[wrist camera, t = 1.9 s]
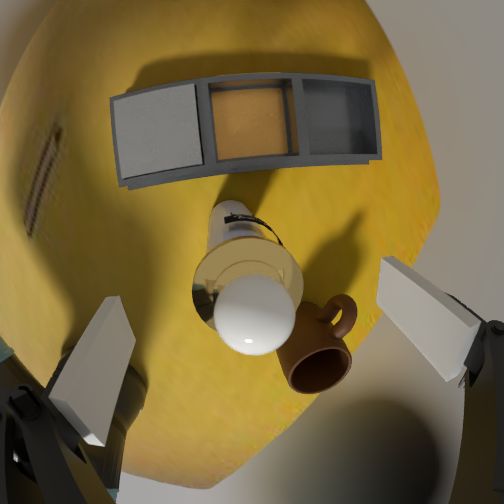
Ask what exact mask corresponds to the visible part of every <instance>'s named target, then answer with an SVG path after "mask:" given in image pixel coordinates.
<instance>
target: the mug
mask: <svg viewBox="0 0 504 504" xmlns="http://www.w3.org/2000/svg"><path fill="white" fill-rule="evenodd" d="M341 309H342V316H341V318H340V320H339V321H338V322H337V323H336V324H335V325H334V326H333V324H332V323H331V321H332V320H333V319H334V318H335V317H336V315H337V314H338V312H339V311H340V310H341ZM356 318H357V306H356V303H355V301H354V300H353V298H351V297H350V296H348V295H345V294H339V295H336V296H334V297H332V298H331V299H330V300H329V301H328V302H327V304H326V305H325V307H324V308H323V309H321V308H320V307H318V306H317V305H315V304H312V303H308V302H300V304H299V306H298V308H297V310H296V316H295V324H294V328H293V330H292V333H291V334H290V336H289V338H288V339H287V340H286V342H285V343H284V344H282V345H281V346H280V347H279V348H278V349H276V352H277V355H278V358H279V361H280V364H281V367H282V370H283V373H284V375H285V377H286V379H287V382H288V384H289V386H290V387H291V388H292V389H293V390H294V391H296V392H298V393H302V394H315V393H320V392H323V391H325V390H328V389H330V388H332V387H333V386H335V385H336V384H338V383H339V382H340V381H341V380H342V379H343V378H344V377H345V376H346V375H347V373H348V372H349V370H350V368H351V364H352V357H351V354H350V352H349V350H348V348H347V346H346V344H345V342H344V341H343V339H342V338H343V337H344V336H345V335H346V334H347V333H349V332H350V331H351V329H352V328H353V326H354V324H355V321H356Z"/></svg>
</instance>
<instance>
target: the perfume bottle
mask: <svg viewBox="0 0 504 504" xmlns="http://www.w3.org/2000/svg"><path fill="white" fill-rule="evenodd" d="M256 219H257V221H256ZM259 221H261V222H259ZM264 223H265V222H263V221H262V220H260V219H259V218H256V217H254V215H252V213H251V212H250V210H249V209H248V208H247V207H246V206H245V205H244V204H243V203H241V202H239V201H235V200H227V201H223V202H221V203H219V204H218V205H216V206H215V207H214V208H213V210H212V212H211V214H210V216H209V224H208V237H207V250H206V255H205V256H204V257H203V258H202V260H201V261H200V263H199V265H198V267H197V269H196V272H195V275H194V278H193V286H192V297H193V303H194V306H195V308H196V311H197V313H198V314H199V316H200V317H201V319H202V320H203V321H204V322H205V323H206V324H207V325H208V326H209V327H211V328H212V329H214V330H215V331H217V332H218V334H219V336H220V337H221V339H222V340H223V341H224V342H225V343H226V344H227V345H228V346H229V347H230V348H232V349H233V350H235V351H237V352H239V353H242V354H247V355H264V354H267V353H270V352H272V351H274V350H276V349H278V348H279V347H280V346H281V345H282V344H284V343H285V342H286V340H287V339H288V338H289V336H290V334H291V333H292V330H293V328H294V324H295V316H296V310H297V308H298V306H299V304H300V302H301V298H302V295H303V285H304V283H303V276H302V273H301V270H300V267H299V265H298V264H297V262H296V261H295V259H294V258H293V256H292V255H291V254H290V253H289V252H288V251H287V250H286V249H285V248H284V247H283V244H282V242H281V241H280V239H279V238H278V237H277V235H276V234H275V233H274V231H273V230H272V229H271V228H270V227H269V226H267V225H266V223H265V224H264ZM259 224H261V225H263V226H265V227H266V228H268V229H269V230H270V231H272V232H273V233H274V234H275V235H276V237H277V238H278V240H279V241H278V242H279V244H278V243H277V242H275V241H273V240H270V239H268V238H267V237H266V235H265V234H264V232H263V231H262V229H261V227H260V226H259Z"/></svg>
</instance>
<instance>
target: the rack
mask: <svg viewBox="0 0 504 504" xmlns="http://www.w3.org/2000/svg"><path fill="white" fill-rule="evenodd" d="M110 113H111V126H112V136H113V146H114V154H115V162H116V169H117V176H118V183H119V187H123V186H128V190H133V189H138V188H143V187H148V186H153V185H158V184H164V183H170V182H175V181H181V180H188V179H194V178H201V177H208V176H215V175H222V174H230V173H239V172H248V171H257V170H267V169H279V168H292V167H306V166H325V165H357V164H369V160H382V146H381V132H380V120H379V111H378V102H377V94H376V87H375V81H374V80H370V79H363V78H356V77H348V76H339V75H327V74H312V73H281V72H264V73H242V74H229V75H219V76H213V77H205V78H197V79H191V80H184V81H178V82H173V83H167V84H162V85H158V86H153V87H148V88H144V89H140V90H136V91H132V92H128V93H125V94H121V95H117V96H114V97H111V98H110Z"/></svg>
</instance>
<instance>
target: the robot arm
mask: <svg viewBox="0 0 504 504" xmlns="http://www.w3.org/2000/svg"><path fill="white" fill-rule="evenodd" d="M376 304H377V305H378V306H379V307H380V308H381V309H382V310H383V312H384V313H386V315H387V316H388V317H389V318H390V319H391V320H392V321H393V322H394V323H395V324H396V325H397V326H398V328H400V330H401V331H402V332H403V333H404V334H405V335H406V336H407V337H408V338H409V340H410V341H411V342H412V343H413V344H414V345H415V346H416V347H417V348H418V349H419V351H420V352H421V353H422V354H423V355H424V356H425V357H426V359H427V360H428V361H429V362H430V363H431V364H432V365H433V367H434V368H435V369H436V370H437V371H438V373H439V374H440V375H441V376H442V377H443V378H444V380H445V381H446V382H447V381H449V380H450V379H452V378H454V377H456V376H457V375H458V374H459V372H460V370H461V368H462V366H463V364H464V365H465V366H466V367H467V370H466V372H465V374H464V376H463V378H462V379H461V381H460V383H459V388H460V387H461V386H462V384H463V382H465V386H464V387H463V388H465V403H464V420H463V432H462V440H461V448H460V454H459V461H458V466H457V472H456V476H455V481H454V485H453V489H452V493H451V497H450V501H449V504H504V323H503V322H501V321H497V320H492V321H489V322H488V323H487V322H486V321H484V320H483V319H482V318H481V317H479V316H478V315H477V314H476V313H474V312H473V311H472V310H471V309H469V308H467V306H466V305H464V304H463V303H461V302H460V301H459V300H458V299H456V298H455V297H454V296H452V295H449V294H447V293H445V292H443V291H442V290H440V289H439V288H438V287H436V286H435V285H434V284H432V283H431V282H429V281H428V280H426V279H425V278H424V277H422V276H421V275H420V274H418V273H417V272H415V271H414V270H413V269H411V268H410V267H408V266H407V265H405V264H404V263H402V262H401V261H399V260H398V259H397V258H395V257H394V256H389V257H384V258H381V265H380V275H379V284H378V292H377V300H376ZM135 342H136V339H135V337H134V334H133V332H132V329H131V327H130V324H129V321H128V319H127V316H126V313H125V311H124V308H123V305H122V302H121V299H120V296H111V297H106V298H105V299H104V301H103V303H102V304H101V306H100V307H99V309H98V310H97V312H96V313H95V315H94V317H93V318H92V320H91V321H90V323H89V325H88V326H87V328H86V329H85V331H84V333H83V334H82V336H81V338H80V339H79V341H78V343H77V345H76V346H74V347H71V348H69V349H67V350H66V351H65V352H64V354H63V355H62V357H61V359H60V361H59V363H58V365H57V368H56V370H55V371H54V373H53V375H52V376H53V377H51V378H50V380H49V382H48V384H47V386H46V388H44V387H43V386H42V385H41V384H40V383H39V382H38V380H37V379H36V378H35V377H34V376H33V375H32V374H31V373H30V372H29V370H28V369H27V368H26V367H25V366H24V365H23V363H22V362H21V361H20V360H19V358H18V357H17V356H16V355H15V353H14V350H13V349H12V348H11V347H9V346H8V345H7V343H6V342H5V341H4V340H3V338H2V337H1V336H0V504H116V503H115V502H116V497H117V493H118V492H119V480H120V473H121V465H122V458H123V452H124V445H125V439H126V434H127V431H128V429H129V428H130V426H131V425H132V423H133V422H134V420H135V419H136V417H137V416H138V414H139V413H140V412H141V411H142V409H143V406H144V402H145V397H146V388H145V385H144V382H143V380H142V379H141V377H140V376H139V374H138V373H137V372H136V371H135V370H134V369H133V368H132V367H131V366H130V365H129V364H128V363H129V360H130V357H131V354H132V351H133V348H134V345H135Z"/></svg>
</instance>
